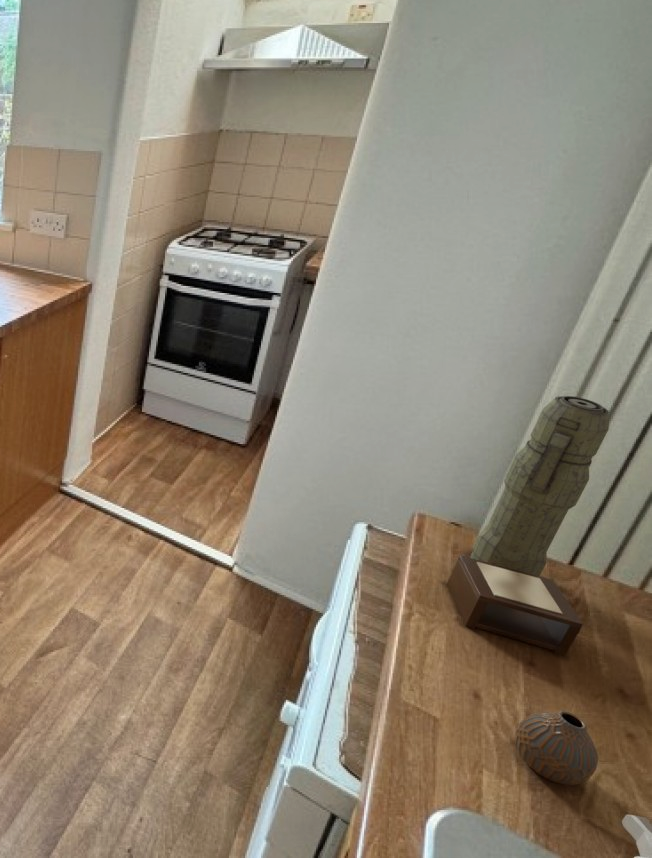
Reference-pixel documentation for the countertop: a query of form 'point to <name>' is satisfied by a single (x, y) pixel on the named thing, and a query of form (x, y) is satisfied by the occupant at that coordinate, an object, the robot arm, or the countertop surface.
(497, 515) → the carved stone statue
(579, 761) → the vase
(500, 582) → the brown wooden box
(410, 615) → the countertop surface
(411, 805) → the countertop surface
